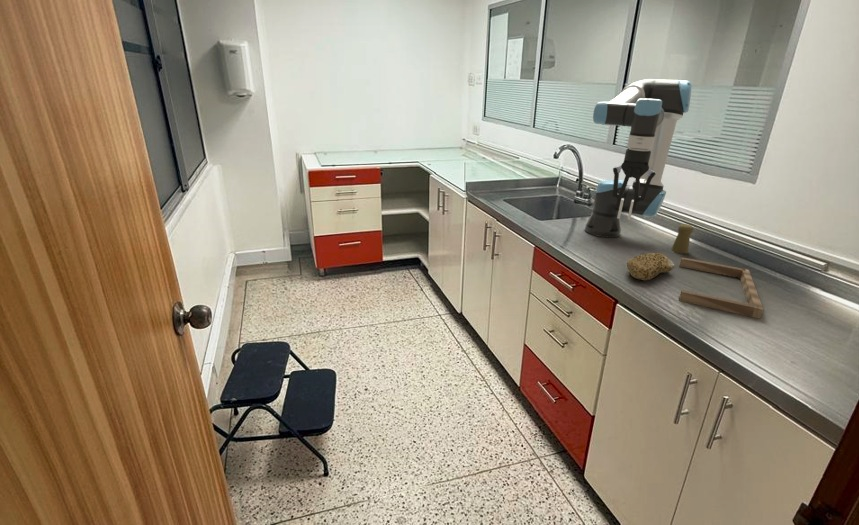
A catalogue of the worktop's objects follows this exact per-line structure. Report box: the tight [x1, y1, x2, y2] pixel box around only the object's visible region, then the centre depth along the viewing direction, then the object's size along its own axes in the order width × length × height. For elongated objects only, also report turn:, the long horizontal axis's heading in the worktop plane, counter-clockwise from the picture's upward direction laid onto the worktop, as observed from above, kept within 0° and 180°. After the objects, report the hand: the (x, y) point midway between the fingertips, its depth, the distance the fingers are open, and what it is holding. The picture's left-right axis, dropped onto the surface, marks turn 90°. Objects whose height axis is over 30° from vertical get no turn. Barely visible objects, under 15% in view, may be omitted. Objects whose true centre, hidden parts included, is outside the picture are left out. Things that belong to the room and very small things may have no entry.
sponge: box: [626, 252, 675, 281], centre depth 153 cm, size 13×8×20 cm
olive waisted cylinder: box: [671, 223, 694, 254], centre depth 176 cm, size 6×6×11 cm
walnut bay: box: [678, 257, 764, 319], centre depth 145 cm, size 34×21×3 cm, turn 152°
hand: (623, 218), depth 152 cm, fingers open, 3 cm apart
